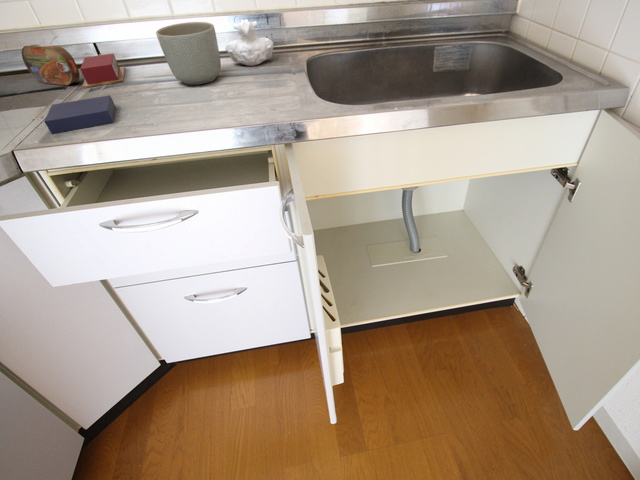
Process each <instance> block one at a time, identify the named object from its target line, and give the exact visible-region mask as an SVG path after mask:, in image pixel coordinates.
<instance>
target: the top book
mask: <svg viewBox="0 0 640 480" xmlns="http://www.w3.org/2000/svg"><path fill="white" fill-rule="evenodd" d="M119 67H120V66H119V63H118V60H117V58H116V56H115V53H107V54H99V55H93V56H92V55H91V56H85V57H84V58H83V61H82V63H81V66H80V72H81V74H82V76H83V78H84V80H86V82H87V84H93V83H99V82H105V81H112V80H118V75H119Z"/></svg>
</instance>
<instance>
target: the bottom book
mask: <svg viewBox="0 0 640 480" xmlns="http://www.w3.org/2000/svg"><path fill="white" fill-rule="evenodd" d="M116 108H117V107H116V104H115V102H114V100H113V97H112V96H111V94H108V95H103V96H97V97H90V98H85V99H79V100H72V101H66V102H65V101H64V102H60V103H54V104H51V106H50V108H49V110H48V112H47V114H46V116H45V119H44V120H43V123H44V124H45V125H46V127H47V129H48V130H49V132H50V134H51V135H54V134H59V133H65V132H70V131H75V130H81V129H82V130H83V129H89V128H92V127H98V126H104V125H109V124H114V121H115V114H116Z"/></svg>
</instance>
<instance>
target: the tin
mask: <svg viewBox="0 0 640 480" xmlns="http://www.w3.org/2000/svg"><path fill="white" fill-rule="evenodd" d="M21 57H22V61H23V63H24V65H25V67H26V69H27V70H28V72H29V73H31V75H32V76H33V78H35V79H36V80H37V81H39V82H41V83H43V84H48V85H57V86H69V85H72V84H75V83H77V82H79V79H80V71H79V67H78V65H77V63H76V61H75V59H74V57H73V56H72V54H71V53H70V52H69V51H68V50H67V49H65V48H64V47H63V46H60V45H51V44H31V45H24V46H23V47H22V49H21Z"/></svg>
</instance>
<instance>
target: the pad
mask: <svg viewBox="0 0 640 480" xmlns="http://www.w3.org/2000/svg"><path fill="white" fill-rule="evenodd" d="M125 73H126V67H125V66H119V75H118V80H112V81H105V82H99V83H93V84H87V82H86V80H85V79H84V80H83V82H82V85H81V87H82V89H88V88H93V87H94V88H95V87H100V86H101V87H102V86H108V85H112V84H120V83H124V80H125Z"/></svg>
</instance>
